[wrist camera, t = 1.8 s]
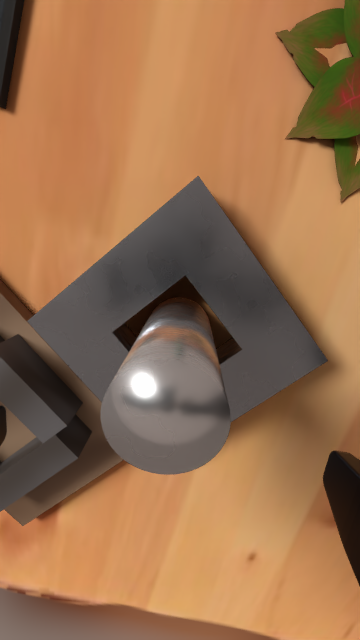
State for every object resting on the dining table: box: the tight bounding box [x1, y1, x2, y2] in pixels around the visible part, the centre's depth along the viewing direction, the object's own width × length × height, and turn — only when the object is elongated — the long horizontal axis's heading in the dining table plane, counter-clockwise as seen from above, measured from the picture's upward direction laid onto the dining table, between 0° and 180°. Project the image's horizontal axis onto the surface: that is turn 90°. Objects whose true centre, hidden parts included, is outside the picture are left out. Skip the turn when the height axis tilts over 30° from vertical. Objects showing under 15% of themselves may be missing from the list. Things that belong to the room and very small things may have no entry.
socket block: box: [27, 176, 328, 422], centre depth 17 cm, size 12×12×2 cm
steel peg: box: [100, 298, 231, 474], centre depth 14 cm, size 4×4×10 cm
